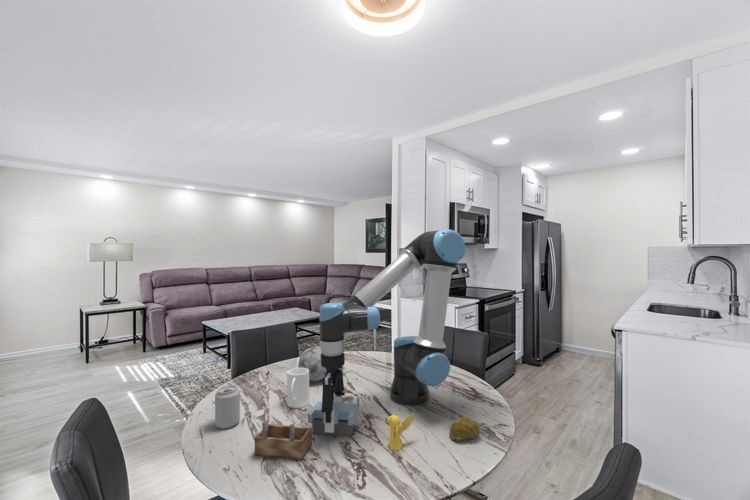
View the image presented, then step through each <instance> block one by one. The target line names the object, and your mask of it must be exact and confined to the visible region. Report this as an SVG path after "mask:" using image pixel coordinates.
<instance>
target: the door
mask: <svg viewBox="0 0 750 500" xmlns="http://www.w3.org/2000/svg"><path fill="white" fill-rule="evenodd" d="M321 409H322V401H316V403H315V404H314V405H313V407H312V408H311V410H310V411H309V412H308V413H307V423H309V424H313V420H314V419H315V418H323V424H325V414H324V412H322V411H321ZM359 409H360V406H359V403H351V402H342V403H336V402H334V401H333V410H334V424H337V423H338V422H339V420H348V425H353V426H354V422H355V421H356V418H357V416H358V415H359V412H360V410H359Z"/></svg>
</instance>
